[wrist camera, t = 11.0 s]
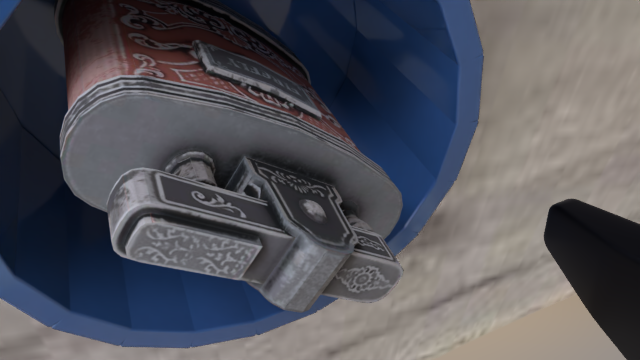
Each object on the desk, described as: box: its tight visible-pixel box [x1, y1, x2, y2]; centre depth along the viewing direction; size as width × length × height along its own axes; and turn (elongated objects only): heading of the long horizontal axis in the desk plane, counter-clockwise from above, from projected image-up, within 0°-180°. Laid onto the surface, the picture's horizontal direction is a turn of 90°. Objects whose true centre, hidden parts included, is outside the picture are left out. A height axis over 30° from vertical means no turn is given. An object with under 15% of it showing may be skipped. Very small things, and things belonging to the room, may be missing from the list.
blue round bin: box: [0, 0, 484, 348], centre depth 16 cm, size 12×12×7 cm
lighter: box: [54, 0, 403, 313], centre depth 14 cm, size 8×3×10 cm, turn 55°
